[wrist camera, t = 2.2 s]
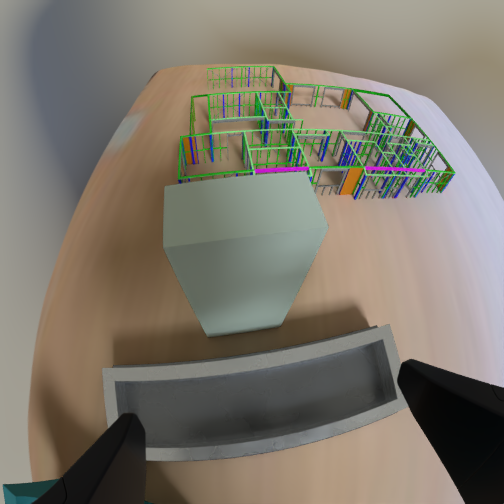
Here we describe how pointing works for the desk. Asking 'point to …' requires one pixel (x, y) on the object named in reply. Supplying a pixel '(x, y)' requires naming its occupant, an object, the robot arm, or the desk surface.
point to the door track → (259, 397)
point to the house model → (354, 172)
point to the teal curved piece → (28, 492)
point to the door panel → (242, 246)
